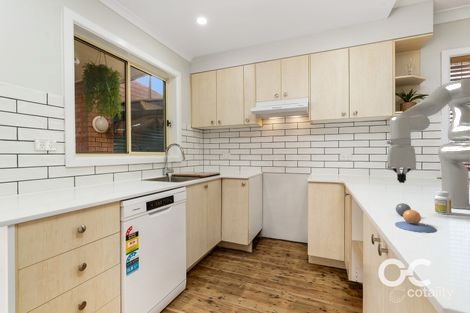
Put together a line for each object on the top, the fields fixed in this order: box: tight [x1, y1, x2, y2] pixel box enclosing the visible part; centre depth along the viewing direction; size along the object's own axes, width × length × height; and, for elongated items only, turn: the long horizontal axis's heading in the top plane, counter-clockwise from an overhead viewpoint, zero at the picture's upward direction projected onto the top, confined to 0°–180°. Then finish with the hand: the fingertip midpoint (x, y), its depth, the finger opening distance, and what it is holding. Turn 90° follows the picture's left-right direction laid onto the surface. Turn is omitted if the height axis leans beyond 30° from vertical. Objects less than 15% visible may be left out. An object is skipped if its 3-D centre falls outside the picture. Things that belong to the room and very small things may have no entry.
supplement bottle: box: [434, 190, 452, 215], centre depth 97 cm, size 5×5×10 cm
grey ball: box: [395, 202, 412, 217], centre depth 95 cm, size 6×6×6 cm
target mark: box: [394, 220, 437, 234], centre depth 82 cm, size 12×12×1 cm
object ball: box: [402, 209, 422, 224], centre depth 85 cm, size 6×6×6 cm
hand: (401, 182), depth 100 cm, fingers closed
